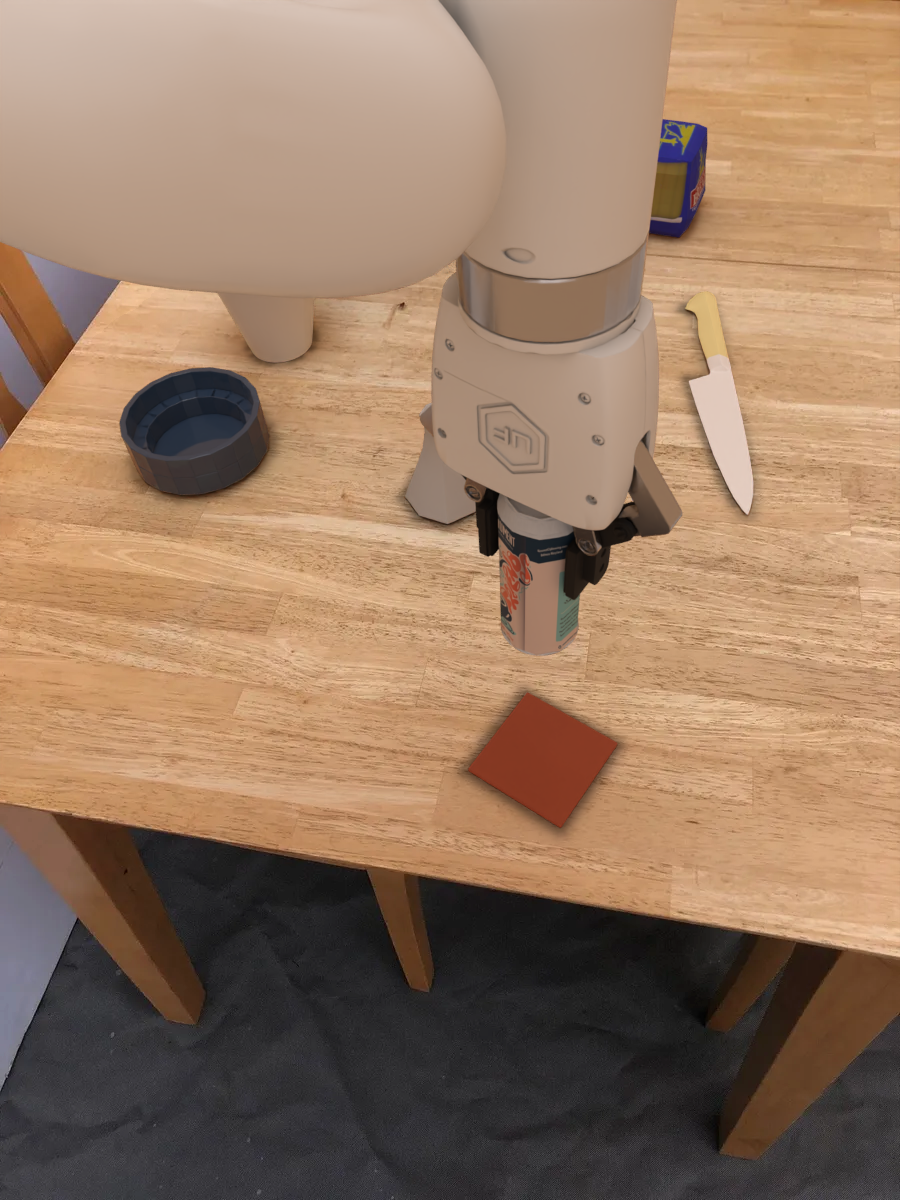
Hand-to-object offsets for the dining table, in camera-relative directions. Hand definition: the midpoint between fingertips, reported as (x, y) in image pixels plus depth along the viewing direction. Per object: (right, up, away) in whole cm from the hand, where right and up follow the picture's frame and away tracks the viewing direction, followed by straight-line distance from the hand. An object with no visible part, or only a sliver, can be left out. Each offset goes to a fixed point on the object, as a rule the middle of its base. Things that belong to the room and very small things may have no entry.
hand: (540, 557), depth 51 cm
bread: (+13, +46, +63) cm, 79 cm away
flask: (-5, +7, +35) cm, 36 cm away
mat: (+2, -14, +17) cm, 22 cm away
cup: (-24, +26, +50) cm, 61 cm away
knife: (+21, +18, +41) cm, 49 cm away
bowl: (-29, +12, +40) cm, 51 cm away
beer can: (0, -4, +6) cm, 7 cm away
